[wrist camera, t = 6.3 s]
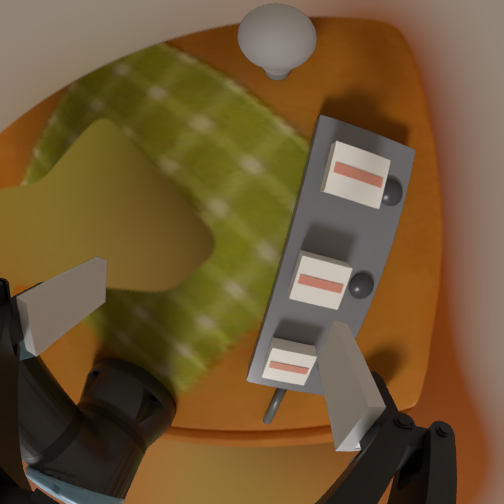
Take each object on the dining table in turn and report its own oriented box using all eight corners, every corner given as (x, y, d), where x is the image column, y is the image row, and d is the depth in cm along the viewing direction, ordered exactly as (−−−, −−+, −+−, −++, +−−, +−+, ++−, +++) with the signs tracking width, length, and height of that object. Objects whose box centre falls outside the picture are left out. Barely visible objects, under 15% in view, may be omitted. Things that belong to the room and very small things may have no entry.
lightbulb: (278, 109, 25) (279, 65, 14) (235, 74, 24) (213, 20, 13) (318, 74, 23) (339, 21, 13) (275, 41, 23) (274, -20, 12)
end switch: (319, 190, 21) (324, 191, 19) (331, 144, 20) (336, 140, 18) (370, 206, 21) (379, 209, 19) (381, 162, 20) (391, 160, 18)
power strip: (233, 413, 34) (229, 429, 31) (315, 121, 25) (320, 113, 21) (298, 425, 34) (299, 441, 31) (402, 153, 24) (416, 150, 21)
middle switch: (288, 290, 25) (289, 299, 23) (300, 249, 24) (302, 255, 22) (333, 300, 25) (337, 310, 23) (347, 262, 24) (352, 268, 22)
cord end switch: (262, 366, 28) (261, 377, 26) (272, 337, 27) (272, 348, 25) (302, 374, 28) (303, 386, 26) (314, 346, 27) (317, 357, 25)
